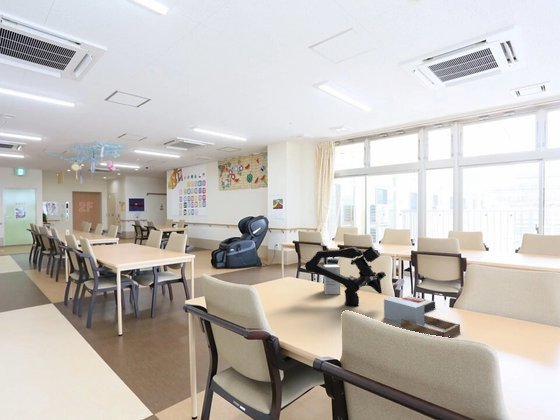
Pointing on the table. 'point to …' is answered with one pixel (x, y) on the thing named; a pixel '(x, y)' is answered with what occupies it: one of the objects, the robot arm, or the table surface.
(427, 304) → the calculator
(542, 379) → the table surface
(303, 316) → the table surface
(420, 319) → the slate box
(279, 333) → the table surface
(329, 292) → the supplement box
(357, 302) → the robot arm
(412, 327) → the frame
